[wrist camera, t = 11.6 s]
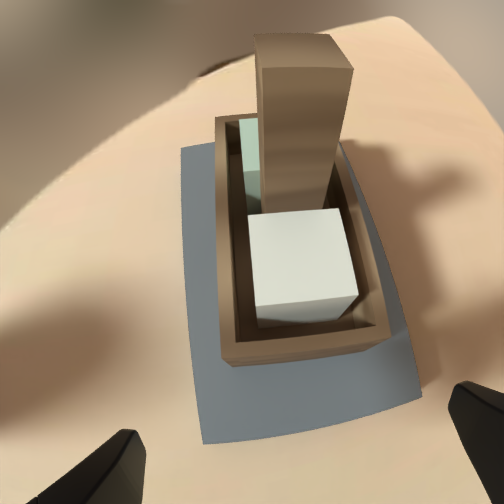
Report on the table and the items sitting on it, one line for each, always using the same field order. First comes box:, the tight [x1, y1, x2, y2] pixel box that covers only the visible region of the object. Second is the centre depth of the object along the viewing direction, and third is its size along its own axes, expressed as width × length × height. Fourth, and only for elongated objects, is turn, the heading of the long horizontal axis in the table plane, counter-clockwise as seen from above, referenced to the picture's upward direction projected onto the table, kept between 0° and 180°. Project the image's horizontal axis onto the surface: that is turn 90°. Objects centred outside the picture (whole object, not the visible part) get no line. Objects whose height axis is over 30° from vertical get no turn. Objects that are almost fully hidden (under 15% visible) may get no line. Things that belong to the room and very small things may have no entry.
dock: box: [181, 142, 422, 445], centre depth 19 cm, size 12×20×2 cm, turn 9°
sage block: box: [239, 118, 261, 215], centre depth 17 cm, size 4×4×4 cm
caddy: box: [215, 33, 391, 367], centre depth 13 cm, size 14×7×12 cm, turn 5°
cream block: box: [248, 208, 359, 329], centre depth 14 cm, size 4×4×4 cm
